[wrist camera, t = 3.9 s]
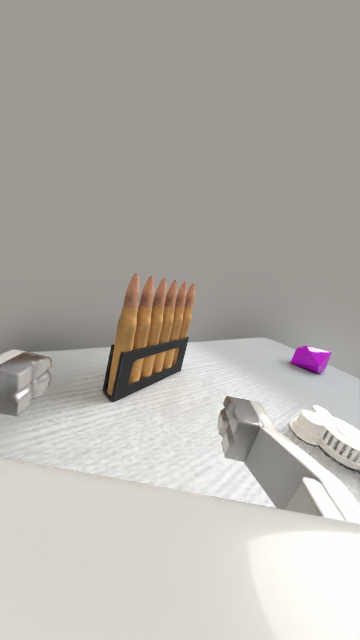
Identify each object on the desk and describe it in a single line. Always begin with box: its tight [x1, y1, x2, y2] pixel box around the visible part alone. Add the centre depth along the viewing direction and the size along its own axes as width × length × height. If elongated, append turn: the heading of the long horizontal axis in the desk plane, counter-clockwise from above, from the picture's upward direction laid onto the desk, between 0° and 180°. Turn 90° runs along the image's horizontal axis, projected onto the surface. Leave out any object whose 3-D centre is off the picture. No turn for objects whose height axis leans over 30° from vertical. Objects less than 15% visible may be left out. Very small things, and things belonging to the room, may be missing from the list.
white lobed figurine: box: [289, 400, 360, 470], centre depth 18 cm, size 9×9×2 cm
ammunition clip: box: [103, 274, 195, 402], centre depth 20 cm, size 11×2×12 cm, turn 142°
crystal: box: [291, 346, 331, 373], centre depth 38 cm, size 5×5×5 cm
